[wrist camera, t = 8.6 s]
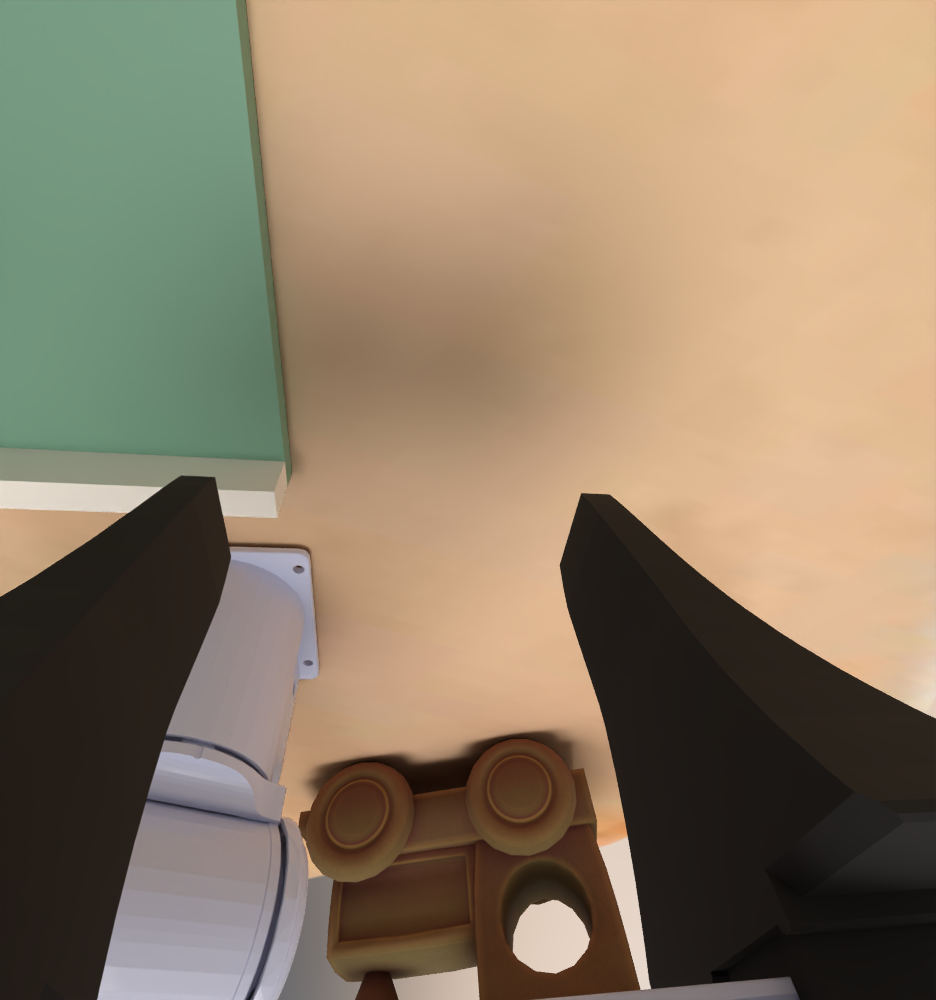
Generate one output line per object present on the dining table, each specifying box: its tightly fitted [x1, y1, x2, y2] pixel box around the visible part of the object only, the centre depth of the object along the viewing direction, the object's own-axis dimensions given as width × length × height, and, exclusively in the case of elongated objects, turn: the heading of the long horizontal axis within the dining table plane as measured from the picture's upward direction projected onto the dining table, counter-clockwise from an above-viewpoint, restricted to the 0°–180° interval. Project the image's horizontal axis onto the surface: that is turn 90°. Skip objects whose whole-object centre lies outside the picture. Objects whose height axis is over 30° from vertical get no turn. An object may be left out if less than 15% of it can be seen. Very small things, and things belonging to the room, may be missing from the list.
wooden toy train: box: [298, 739, 640, 1000], centre depth 33 cm, size 20×11×17 cm, turn 98°
